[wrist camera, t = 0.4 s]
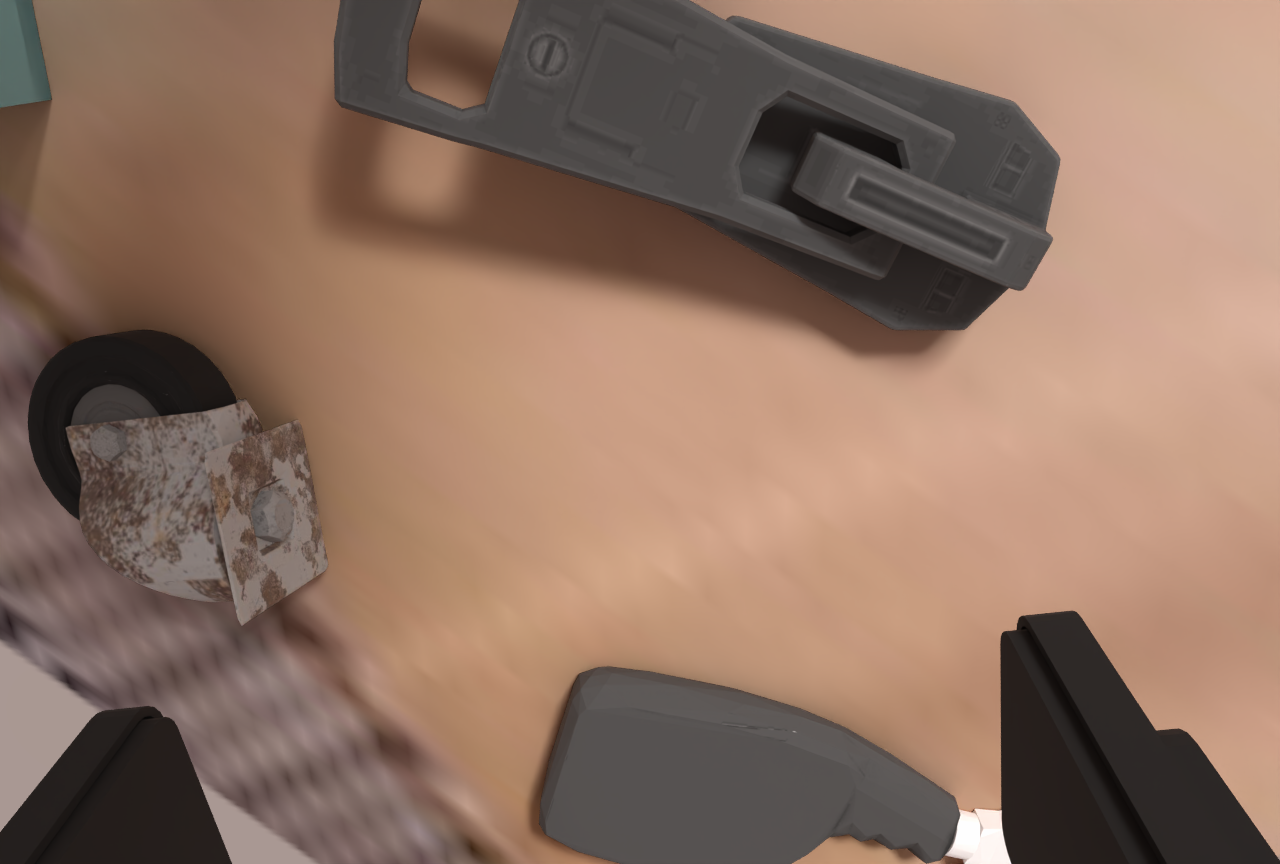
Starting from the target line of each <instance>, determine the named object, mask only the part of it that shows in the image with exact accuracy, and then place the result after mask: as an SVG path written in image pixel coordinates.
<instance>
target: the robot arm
mask: <svg viewBox="0 0 1280 864" xmlns="http://www.w3.org/2000/svg"><path fill="white" fill-rule="evenodd" d="M1000 645H1001V810H1002V830H1003V836H1004V841H1005V845H1006V849H1007V853H1008V856H1009V859H1010V861H1011V864H1280V860H1279V859H1278V857H1277V856H1276V855H1275V853H1274V852H1273V850H1272V849H1271V848H1270V846H1269V845H1268V843H1267V842H1266V840H1265V839H1264V838H1263V836H1262V835H1261V833H1260V832H1259V830H1258V829H1257V828H1256V826H1255V825H1254V823H1253V822H1252V821H1251V819H1250V818H1249V816H1248V815H1247V813H1246V812H1245V811H1244V809H1243V808H1242V806H1241V805H1240V803H1239V802H1238V801H1237V799H1236V798H1235V796H1234V795H1233V794H1232V792H1231V791H1230V789H1229V788H1228V786H1227V785H1226V784H1225V782H1224V781H1223V779H1222V778H1221V777H1220V775H1219V774H1218V772H1217V771H1216V769H1215V768H1214V767H1213V765H1212V764H1211V762H1210V761H1209V759H1208V758H1207V757H1206V755H1205V754H1204V752H1203V751H1202V750H1201V748H1200V747H1199V745H1198V744H1197V743H1196V742H1195V740H1194V739H1193V738H1192V737H1191V736H1190V735H1189V734H1188V733H1187V732H1185V731H1183V730H1181V729H1169V730H1158V731H1156V730H1155V729H1154V727H1153V726H1152V724H1151V722H1150V721H1149V719H1148V718H1147V716H1146V715H1145V713H1144V712H1143V710H1142V709H1141V707H1140V706H1139V704H1138V703H1137V701H1136V700H1135V698H1134V697H1133V695H1132V694H1131V692H1130V691H1129V689H1128V688H1127V686H1126V685H1125V683H1124V682H1123V680H1122V679H1121V677H1120V676H1119V674H1118V672H1117V671H1116V669H1115V668H1114V666H1113V665H1112V663H1111V662H1110V660H1109V659H1108V657H1107V656H1106V654H1105V653H1104V651H1103V650H1102V648H1101V647H1100V645H1099V644H1098V642H1097V641H1096V639H1095V638H1094V636H1093V635H1092V633H1091V632H1090V630H1089V629H1088V627H1087V626H1086V624H1085V622H1084V621H1083V619H1082V618H1081V617H1080V616H1079V614H1078V613H1077V612H1075V611H1064V612H1055V613H1045V614H1035V615H1026V616H1021V617H1020V618H1019V620H1018V623H1017V630H1014V631H1004V632H1003V633H1002V635H1001V644H1000ZM0 864H232V862H231V860H230V857H229V855H228V852H227V850H226V848H225V845H224V843H223V840H222V837H221V835H220V832H219V830H218V827H217V825H216V822H215V820H214V818H213V815H212V812H211V810H210V807H209V805H208V802H207V800H206V798H205V795H204V792H203V790H202V787H201V785H200V782H199V780H198V777H197V775H196V772H195V770H194V767H193V765H192V762H191V760H190V757H189V755H188V752H187V750H186V747H185V745H184V742H183V740H182V737H181V735H180V732H179V730H178V727H177V725H176V724H175V722H174V721H173V720H172V719H171V718H167V717H163V716H162V714H161V712H160V711H158V710H157V709H156V708H155V707H150V706H145V707H135V708H125V709H116V710H106V711H102V712H99V713H97V714H96V715H95V716H94V717H93V718H92V719H91V720H90V721H89V722H88V723H87V725H86V726H85V727H84V729H83V730H82V731H81V732H80V733H79V735H78V736H77V737H76V738H75V740H74V741H73V742H72V743H71V745H70V746H69V747H68V748H67V750H66V751H65V752H64V753H63V754H62V756H61V757H60V758H59V759H58V761H57V762H56V763H55V764H54V766H53V767H52V768H51V769H50V771H49V772H48V773H47V775H46V776H45V777H44V778H43V779H42V781H41V782H40V783H39V784H38V786H37V787H36V788H35V789H34V791H33V792H32V793H31V794H30V796H29V797H28V798H27V800H26V801H25V802H24V803H23V804H22V806H21V807H20V808H19V809H18V811H17V812H16V813H15V815H14V816H13V817H12V818H11V820H10V821H9V822H8V823H7V824H6V826H5V827H4V828H3V829H2V831H1V832H0Z"/></svg>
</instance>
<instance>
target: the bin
mask: <svg viewBox="0 0 1280 864" xmlns="http://www.w3.org/2000/svg"><path fill="white" fill-rule="evenodd" d="M46 100H52V98H51V93H50V88H49V83H48V78H47V73H46V68H45V63H44V59H43V54H42V49H41V44H40V39H39V34H38V29H37V24H36V19H35V14H34V10H33V5H32V0H0V108H1V107H7V106H14V105H20V104H27V103H33V102H40V101H46Z"/></svg>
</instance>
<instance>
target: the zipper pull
mask: <svg viewBox="0 0 1280 864" xmlns="http://www.w3.org/2000/svg"><path fill="white" fill-rule="evenodd" d="M421 1H422V0H341V1H340V8H339V14H338V20H337V26H336V32H335V38H334V79H335V99H336V101H337V102H338V103H339V105H340V106H341V107H343V108H346V109H349V110H353V111H356V112H359V113H362V114H366V115H369V116H372V117H375V118H379V119H382V120H385V121H389V122H392V123H395V124H398V125H402V126H405V127H408V128H411V129H415V130H418V131H421V132H424V133H428V134H431V135H434V136H437V137H441V138H444V139H447V140H450V141H454V142H458V143H462V144H466V145H470V146H474V147H477V148H481V149H484V150H488V151H491V152H494V153H498V154H501V155H504V156H508V157H511V158H514V159H518V160H521V161H524V162H528V163H531V164H534V165H538V166H541V167H544V168H547V169H551V170H554V171H557V172H561V173H564V174H567V175H571V176H574V177H577V178H581V179H584V180H587V181H591V182H594V183H597V184H601V185H604V186H607V187H610V188H614V189H617V190H620V191H624V192H627V193H630V194H634V195H637V196H640V197H644V198H647V199H650V200H654V201H657V202H660V203H664V204H667V205H670V206H674V207H676V208H678V209H680V210H681V211H683V212H685V213H687V214H689V215H690V216H692V217H694V218H696V219H697V220H699V221H701V222H703V223H705V224H706V225H708V226H710V227H712V228H714V229H715V230H717V231H719V232H721V233H723V234H724V235H726V236H728V237H730V238H731V239H733V240H735V241H737V242H739V243H740V244H742V245H744V246H746V247H748V248H749V249H751V250H753V251H755V252H757V253H758V254H760V255H762V256H764V257H765V258H767V259H769V260H771V261H773V262H774V263H776V264H778V265H780V266H782V267H783V268H785V269H787V270H789V271H791V272H792V273H794V274H796V275H798V276H800V277H801V278H803V279H805V280H807V281H808V282H810V283H812V284H814V285H816V286H817V287H819V288H821V289H823V290H825V291H826V292H828V293H830V294H832V295H833V296H835V297H837V298H838V299H840V300H842V301H844V302H845V303H847V304H849V305H850V306H852V307H854V308H856V309H857V310H859V311H861V312H863V313H864V314H866V315H868V316H869V317H871V318H873V319H875V320H876V321H878V322H880V323H881V324H883V325H885V326H887V327H888V328H891V329H893V330H964V329H966V328H967V327H968V326H969V325H970V324H971V323H972V322H973V321H974V320H976V319H977V318H978V317H979V316H980V315H981V314H982V313H983V312H984V311H985V310H986V309H987V308H988V307H989V306H990V305H991V304H992V303H993V302H995V301H996V300H997V299H998V298H999V297H1000V296H1001V295H1002V294H1003V293H1004V292H1005V291H1006V290H1007V289H1008V288H1011V289H1014V290H1018V291H1022V290H1023V289H1024V288H1026V286H1027V284H1028V283H1029V281H1030V279H1031V278H1032V276H1033V274H1034V272H1035V271H1036V269H1037V267H1038V265H1039V264H1040V262H1041V260H1042V259H1043V257H1044V255H1045V253H1046V252H1047V250H1048V248H1049V246H1050V245H1051V243H1052V240H1053V237H1052V236H1051V235H1050V234H1049V233H1047V232H1046V224H1047V220H1048V215H1049V211H1050V206H1051V202H1052V197H1053V193H1054V188H1055V184H1056V179H1057V175H1058V170H1059V166H1060V157H1059V155H1058V154H1057V152H1056V151H1055V150H1054V149H1053V148H1052V146H1051V145H1050V144H1049V143H1048V141H1047V140H1046V139H1045V138H1044V137H1043V135H1042V134H1041V133H1040V132H1039V131H1038V129H1037V128H1036V127H1035V126H1034V124H1033V123H1032V122H1031V121H1030V120H1029V118H1028V117H1027V116H1026V115H1025V113H1024V112H1023V111H1022V110H1021V109H1020V107H1019V106H1018V105H1017V104H1016V103H1015V102H1013V101H1011V100H1008V99H1004V98H1001V97H998V96H994V95H991V94H988V93H984V92H981V91H977V90H974V89H971V88H967V87H964V86H960V85H957V84H954V83H950V82H947V81H944V80H940V79H937V78H934V77H930V76H927V75H924V74H921V73H918V72H915V71H911V70H908V69H905V68H902V67H899V66H896V65H892V64H889V63H886V62H883V61H880V60H877V59H873V58H870V57H867V56H864V55H861V54H858V53H854V52H851V51H848V50H845V49H842V48H839V47H835V46H832V45H829V44H826V43H823V42H820V41H816V40H813V39H810V38H807V37H804V36H801V35H797V34H794V33H791V32H788V31H785V30H782V29H778V28H775V27H772V26H769V25H766V24H763V23H759V22H756V21H753V20H750V19H747V18H743V17H740V16H731V17H729V18H727V19H726V20H723V19H722V18H720V17H718V16H716V15H715V14H713V13H711V12H709V11H707V10H706V9H704V8H702V7H700V6H699V5H697V4H695V3H693V2H691V1H690V0H519V3H518V6H517V9H516V12H515V15H514V17H513V20H512V23H511V26H510V29H509V32H508V35H507V38H506V41H505V44H504V47H503V50H502V53H501V56H500V59H499V62H498V65H497V68H496V71H495V74H494V77H493V80H492V83H491V86H490V89H489V92H488V95H487V98H486V101H485V104H481V105H477V106H473V107H469V108H465V109H461V108H458V107H456V106H453V105H451V104H448V103H446V102H443V101H440V100H438V99H435V98H433V97H430V96H428V95H425V94H423V93H420V92H418V91H415V90H413V89H412V87H411V86H410V84H409V83H408V81H407V73H408V51H409V41H410V37H411V34H412V31H413V27H414V24H415V21H416V17H417V14H418V11H419V7H420V4H421Z"/></svg>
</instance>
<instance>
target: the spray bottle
mask: <svg viewBox="0 0 1280 864" xmlns="http://www.w3.org/2000/svg"><path fill="white" fill-rule="evenodd" d="M539 825H540V826H541V828H542V830H543V832H544V833H545V835H547V836H549V837H551V838H553V839H555V840H557V841H559V842H560V843H562V844H564V845H566V846H568V847H570V848H572V849H574V850H576V851H578V852H581V853H584V854H588V855H592V856H595V857H599V858H602V859H606V860H609V861H613V862H617V863H620V864H792V863H793V862H795V861H797V860H799V859H800V858H802V857H804V856H806V855H807V854H809V853H810V852H811V851H812V850H814V849H815V848H816V847H817V846H819V845H820V844H821V843H823V842H824V841H825V840H826V839H828V838H829V837H834V836H841V835H847V834H849V835H851V836H852V837H854V838H855V839H857V840H859V841H860V842H861V841H866V840H871V839H874V840H875V841H877V842H879V843H881V844H882V845H884V846H886V847H887V848H889V849H891V850H892V849H902V848H908V849H909V850H910V851H911V852H912V853H913V854H914V855H915V856H917V857H918V858H919V859H921V860H922V861H923V862H925V863H926V864H927V863H931V862H935V861H939V860H941V859H942V858H943V857H944V856H950V857H954V858H959V859H963V862H964V864H1011V861H1010V859H1009V856H1008V853H1007V849H1006V845H1005V841H1004V836H1003V830H1002V810H999V811H995V810H983V809H974V811H973V812H968V811H963V810H959V809H958V805H957V802H956V799H955V797H954V796H953V795H951V794H950V793H948V792H947V791H945V790H944V789H942V788H941V787H939V786H938V785H936V784H935V783H933V782H932V781H930V780H929V779H927V778H926V777H924V776H923V775H921V774H920V773H918V772H917V771H915V770H914V769H912V768H911V767H910V766H908V765H907V764H905V763H904V762H902V761H901V760H899V759H898V758H896V757H895V756H893V755H892V754H890V753H888V752H887V751H885V750H883V749H882V748H880V747H878V746H876V745H875V744H873V743H871V742H869V741H868V740H866V739H864V738H863V737H861V736H859V735H857V734H856V733H854V732H852V731H851V730H849V729H847V728H845V727H843V726H841V725H839V724H836V723H834V722H831V721H829V720H827V719H824V718H822V717H819V716H817V715H815V714H812V713H810V712H807V711H805V710H803V709H800V708H797V707H794V706H790V705H787V704H784V703H781V702H777V701H774V700H771V699H767V698H764V697H761V696H758V695H754V694H751V693H748V692H744V691H741V690H738V689H734V688H730V687H725V686H720V685H715V684H710V683H705V682H700V681H695V680H690V679H685V678H680V677H675V676H670V675H665V674H660V673H655V672H649V671H641V670H633V669H625V668H617V667H598V668H595V669H592V670H589V671H586V672H583V673H580V674H579V676H578V678H577V679H576V681H575V683H574V685H573V689H572V692H571V695H570V698H569V701H568V704H567V707H566V710H565V713H564V716H563V719H562V722H561V726H560V729H559V732H558V735H557V738H556V741H555V744H554V747H553V750H552V753H551V756H550V759H549V764H548V769H547V773H546V778H545V783H544V788H543V792H542V797H541V803H540V816H539Z"/></svg>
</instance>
